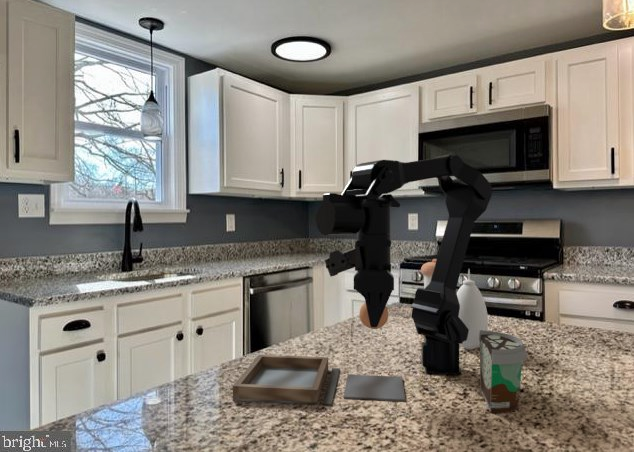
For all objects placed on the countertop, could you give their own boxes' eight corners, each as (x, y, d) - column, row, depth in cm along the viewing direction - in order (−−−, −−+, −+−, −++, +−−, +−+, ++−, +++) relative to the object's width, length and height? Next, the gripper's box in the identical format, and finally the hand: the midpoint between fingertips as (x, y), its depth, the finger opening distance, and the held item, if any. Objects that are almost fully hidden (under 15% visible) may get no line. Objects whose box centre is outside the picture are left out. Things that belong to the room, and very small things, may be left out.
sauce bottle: (476, 356, 93) (476, 272, 92) (443, 348, 99) (443, 268, 98) (493, 348, 98) (494, 268, 97) (462, 341, 104) (462, 266, 103)
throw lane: (400, 372, 84) (400, 360, 84) (406, 409, 68) (406, 394, 68) (258, 366, 87) (258, 354, 87) (232, 400, 72) (232, 385, 71)
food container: (536, 420, 64) (537, 353, 64) (492, 417, 65) (492, 350, 65) (516, 387, 76) (516, 330, 76) (478, 385, 77) (479, 329, 77)
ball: (388, 325, 78) (387, 297, 78) (388, 332, 73) (388, 303, 73) (359, 324, 79) (359, 297, 79) (358, 331, 74) (358, 302, 74)
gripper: (332, 231, 86) (333, 310, 86) (321, 236, 67) (321, 336, 68) (390, 231, 84) (390, 311, 85) (394, 236, 66) (394, 338, 66)
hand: (374, 323), depth 76 cm, fingers closed on ball, 5 cm apart
